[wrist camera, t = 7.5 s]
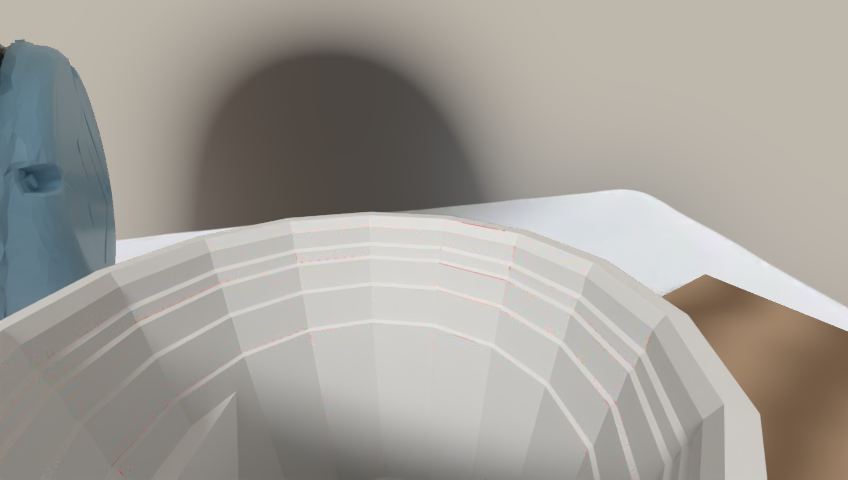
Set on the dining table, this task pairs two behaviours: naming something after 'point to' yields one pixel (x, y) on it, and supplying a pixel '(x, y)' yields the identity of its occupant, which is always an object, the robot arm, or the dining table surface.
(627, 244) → the dining table surface
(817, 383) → the walnut podium
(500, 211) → the dining table surface
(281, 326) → the plastic cup
